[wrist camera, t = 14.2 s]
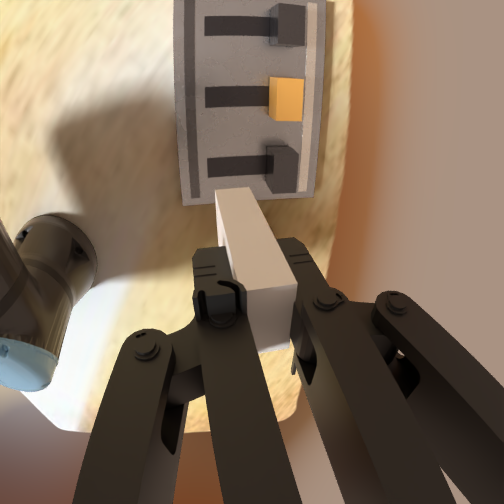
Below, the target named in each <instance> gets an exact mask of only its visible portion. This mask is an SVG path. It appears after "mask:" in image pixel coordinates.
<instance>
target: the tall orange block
mask: <svg viewBox="0 0 504 504" xmlns="http://www.w3.org/2000/svg"><path fill="white" fill-rule="evenodd" d="M303 88H304V79H298V78H288V77H270V84H269V117H271V118H272V119H274V120H275V121H302V108H303Z"/></svg>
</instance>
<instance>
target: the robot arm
mask: <svg viewBox="0 0 504 504" xmlns="http://www.w3.org/2000/svg"><path fill="white" fill-rule="evenodd" d="M215 201H216V217H217V232H218V244H219V247H211V248H202V249H197V251H196V252H195V254H194V256H193V258H192V262H193V275H194V288H195V290H194V292H193V297H192V299H193V305H194V311H195V316H194V319H193V320H192V321H191V322H190V324H188V325H187V326H186V327H185V328H183V329H181V330H179V331H176V332H174V333H171V334H169V335H166V334H165V333H164V332H162V331H160V330H156V329H142V330H139V331H137V332H134V333H133V334H131V335H130V336H129V337H128V338H126V340H125V342H124V343H123V345H122V347H121V349H120V352H119V355H118V357H117V360H116V362H115V365H114V368H113V371H112V373H111V376H110V379H109V382H108V384H107V387H106V390H105V393H104V396H103V399H102V402H101V405H100V407H99V410H98V414H97V417H96V420H95V423H94V426H93V429H92V432H91V436H90V439H89V442H88V446H87V449H86V453H85V456H84V460H83V463H82V467H81V470H80V474H79V479H78V482H77V486H76V490H75V494H74V498H73V503H72V504H173V498H174V491H175V484H176V478H177V471H178V465H179V459H180V452H181V446H182V440H183V434H184V428H185V422H186V416H187V411H188V405H189V401H192V400H194V399H196V398H199V397H201V396H203V395H205V397H206V404H207V411H208V417H209V424H210V430H211V436H212V442H213V448H214V454H215V460H216V465H217V470H218V476H219V481H220V486H221V491H222V496H223V501H224V504H302V501H301V498H300V495H299V491H298V488H297V485H296V482H295V478H294V475H293V472H292V469H291V465H290V462H289V459H288V455H287V452H286V449H285V445H284V442H283V439H282V435H281V432H280V429H279V425H278V422H277V418H276V415H275V411H274V408H273V404H272V401H271V398H270V394H269V391H268V387H267V384H266V380H265V377H264V373H263V370H262V366H261V362H260V359H259V355H258V353H264V352H270V351H276V350H281V349H287V348H289V344H290V337H291V340H292V343H293V345H294V348H295V350H294V356H293V362H292V367H291V373H292V375H295V372H296V369H297V371H298V374H299V377H300V380H301V382H302V385H303V388H304V390H305V393H306V396H307V399H308V402H309V405H310V407H311V410H312V413H313V416H314V418H315V421H316V424H317V427H318V430H319V432H320V435H321V438H322V441H323V444H324V446H325V449H326V452H327V455H328V457H329V460H330V463H331V466H332V468H333V471H334V474H335V477H336V480H337V483H338V485H339V488H340V491H341V494H342V497H343V499H344V502H345V504H456V501H455V499H454V497H453V495H452V492H451V490H450V488H449V486H448V484H447V481H446V479H445V477H444V475H443V473H442V471H441V468H442V469H443V471H444V472H445V473H446V474H447V476H448V477H449V478H450V479H451V480H452V482H453V483H454V484H455V485H456V486H457V488H458V489H459V490H460V491H461V492H462V494H463V495H464V496H465V497H466V498H467V500H468V501H469V502H470V503H471V504H504V388H503V386H502V385H500V383H499V382H498V381H497V380H496V379H495V378H494V377H493V376H492V375H491V374H490V373H489V372H488V371H487V370H486V369H485V368H484V367H483V366H482V365H481V364H480V363H479V362H478V361H477V360H476V359H475V358H474V357H473V356H472V355H471V354H470V353H469V352H468V351H467V350H466V349H465V348H464V347H463V346H462V345H461V344H460V343H459V342H458V341H457V340H456V339H455V338H454V337H452V336H451V335H450V334H449V333H448V332H447V331H446V330H445V329H444V328H443V327H442V326H441V325H440V324H438V322H436V321H435V320H434V319H433V318H432V317H431V316H430V315H429V314H428V313H426V312H425V311H424V310H423V309H422V308H421V307H420V306H419V305H418V304H416V303H415V302H414V301H413V300H412V299H411V298H410V297H408V296H407V295H405V294H403V293H400V292H397V291H385V292H382V293H381V294H379V295H378V296H377V299H376V301H375V303H364V302H352V301H349V300H348V298H347V297H346V296H345V295H344V294H343V293H342V292H340V291H339V290H337V289H335V288H331V287H329V285H328V284H327V282H326V280H325V278H324V277H323V275H322V273H321V272H320V270H319V268H318V267H317V265H316V263H315V262H314V260H313V258H312V257H311V255H309V252H308V250H307V249H306V247H305V245H304V244H303V243H301V242H300V241H298V240H297V239H295V238H294V237H293V238H284V239H275V237H274V235H273V233H272V231H271V229H270V227H269V225H268V223H267V221H266V219H265V217H264V215H263V213H262V211H261V209H260V207H259V205H258V203H257V201H256V199H255V197H254V195H253V193H252V191H251V190H250V188H249V187H242V188H230V189H219V190H215ZM96 271H97V258H96V254H95V251H94V248H93V246H92V244H91V242H90V241H89V239H88V238H87V237H86V235H85V234H84V233H83V232H82V231H81V230H80V229H79V228H78V227H76V226H75V225H74V224H72V223H71V222H69V221H67V220H65V219H62V218H59V217H56V216H47V215H46V216H39V217H35V218H33V219H31V220H30V221H28V222H27V223H26V224H25V225H24V226H23V227H22V229H21V230H20V231H19V233H18V234H17V236H16V238H15V240H14V243H12V241H11V239H10V237H9V235H8V233H7V231H6V229H5V227H4V225H3V223H2V221H1V219H0V384H1V385H3V386H6V387H8V388H11V389H15V390H19V391H26V392H35V391H40V390H43V389H45V388H46V387H47V386H48V385H49V384H50V382H51V380H52V377H53V374H54V371H55V368H56V366H57V365H58V360H59V356H60V351H61V347H62V343H63V340H64V336H65V332H66V328H67V325H68V321H69V318H70V315H71V311H72V308H73V307H74V306H75V304H76V303H77V302H78V301H79V300H80V299H81V298H82V297H83V296H84V295H85V294H86V293H87V292H88V290H89V289H90V287H91V285H92V283H93V280H94V278H95V275H96ZM398 350H400V351H401V352H402V353H403V354H404V355H405V356H403V355H400V354H399V353H398ZM440 467H441V468H440Z"/></svg>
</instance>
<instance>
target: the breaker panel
mask: <svg viewBox="0 0 504 504" xmlns="http://www.w3.org/2000/svg"><path fill="white" fill-rule="evenodd" d="M325 29H326V0H174V15H173V47H174V88H175V111H176V129H177V144H178V158H179V170H180V182H181V193H182V203H183V206H189V205H200V204H212V203H216V201H215V190H219V189H230V188H242V187H249V188H250V190H251V191H252V193H253V195H254V197H255V199H256V200H268V199H286V198H308V197H314V188H315V178H316V169H317V158H318V147H319V136H320V123H321V110H322V95H323V78H324V57H325ZM270 77H288V78H298V79H304V88H303V108H302V121H275V120H274V119H272V118H271V117H269V84H270Z"/></svg>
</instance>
